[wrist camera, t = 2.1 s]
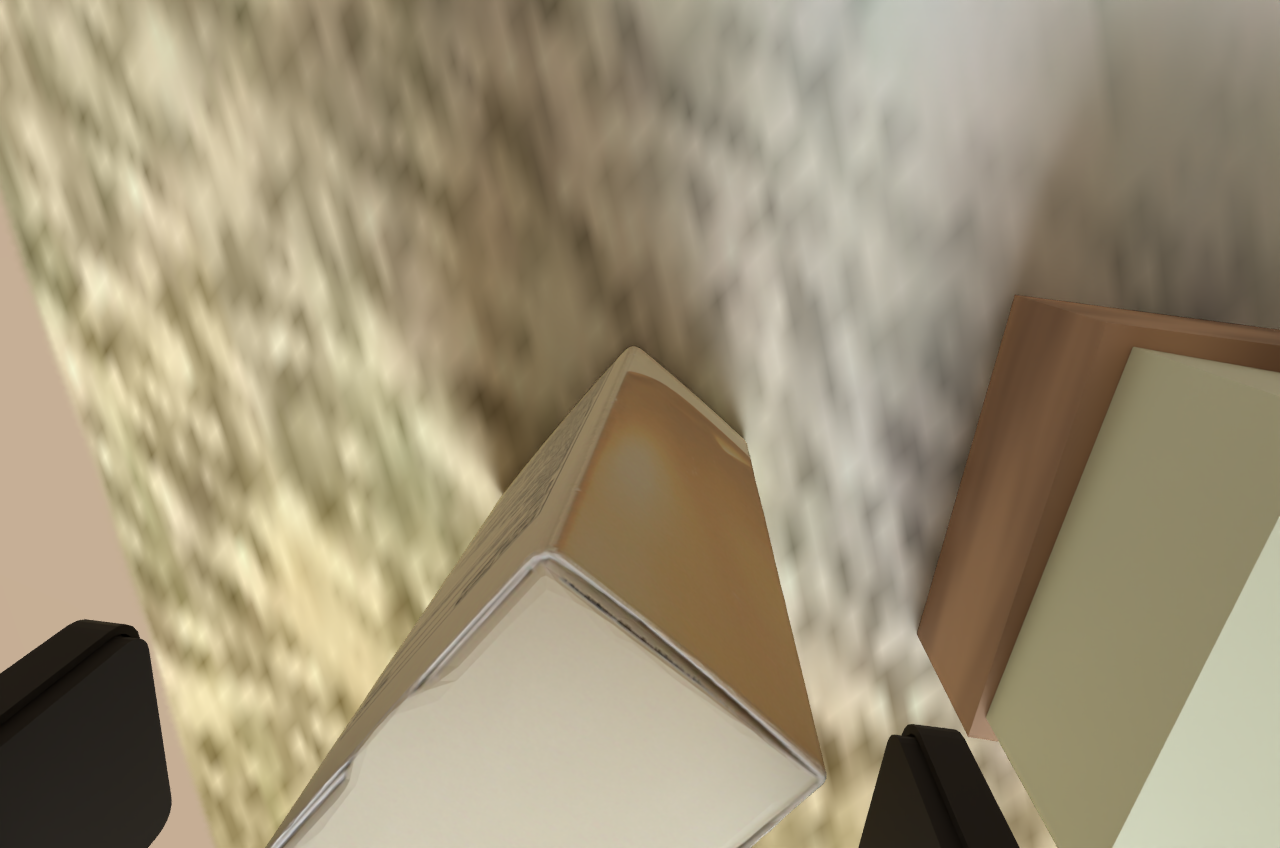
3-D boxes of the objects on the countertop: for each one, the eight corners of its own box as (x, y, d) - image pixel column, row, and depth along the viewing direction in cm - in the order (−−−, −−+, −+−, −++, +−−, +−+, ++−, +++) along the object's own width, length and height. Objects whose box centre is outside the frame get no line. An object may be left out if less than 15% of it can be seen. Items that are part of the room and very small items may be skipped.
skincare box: (610, 586, 21) (500, 1066, 9) (496, 495, 20) (225, 888, 9) (760, 433, 19) (852, 794, 8) (638, 329, 19) (536, 548, 7)
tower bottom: (1414, 346, 17) (1646, 394, 13) (1255, 679, 21) (1401, 804, 16) (1009, 292, 18) (1106, 322, 14) (913, 627, 21) (968, 736, 17)
